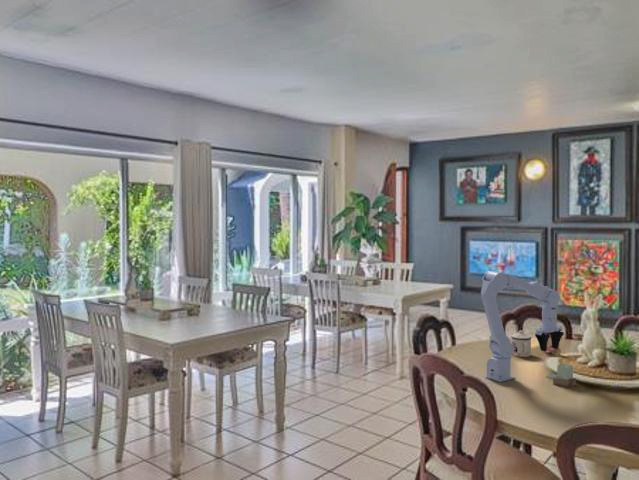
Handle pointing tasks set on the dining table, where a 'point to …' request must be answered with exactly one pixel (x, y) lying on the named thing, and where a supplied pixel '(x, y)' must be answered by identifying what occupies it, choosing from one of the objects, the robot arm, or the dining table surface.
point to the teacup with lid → (521, 344)
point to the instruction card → (551, 376)
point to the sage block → (565, 371)
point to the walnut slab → (564, 382)
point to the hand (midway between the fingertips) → (549, 349)
